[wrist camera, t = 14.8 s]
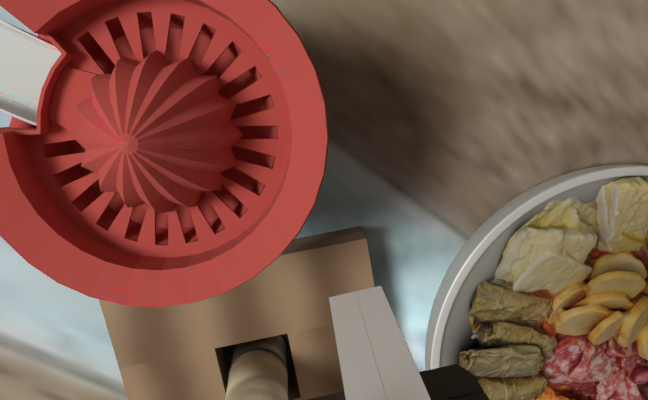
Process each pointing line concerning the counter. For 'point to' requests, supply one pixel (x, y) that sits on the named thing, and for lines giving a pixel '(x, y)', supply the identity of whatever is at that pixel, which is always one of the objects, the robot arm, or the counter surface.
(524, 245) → the bowl
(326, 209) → the counter surface
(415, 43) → the counter surface
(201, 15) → the citrus juicer
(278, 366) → the peg
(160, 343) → the board
